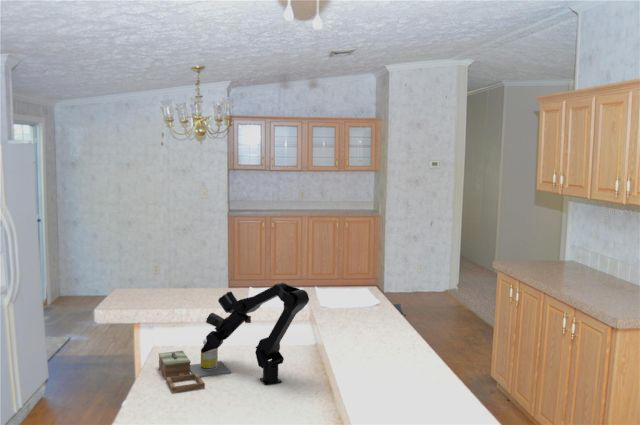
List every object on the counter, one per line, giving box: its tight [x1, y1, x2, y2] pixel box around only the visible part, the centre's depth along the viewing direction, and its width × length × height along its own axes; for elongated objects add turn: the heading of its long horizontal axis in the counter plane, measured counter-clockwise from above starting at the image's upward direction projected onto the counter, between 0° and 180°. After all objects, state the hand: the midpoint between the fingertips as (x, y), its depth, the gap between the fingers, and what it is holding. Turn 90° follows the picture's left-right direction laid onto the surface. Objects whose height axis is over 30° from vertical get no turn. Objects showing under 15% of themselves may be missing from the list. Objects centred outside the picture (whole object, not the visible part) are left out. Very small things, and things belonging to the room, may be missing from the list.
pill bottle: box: [200, 338, 219, 371], centre depth 214 cm, size 6×6×12 cm
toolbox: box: [158, 350, 206, 394], centre depth 204 cm, size 28×11×7 cm, turn 26°
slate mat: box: [190, 360, 232, 379], centre depth 214 cm, size 14×14×1 cm
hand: (205, 348), depth 214 cm, fingers open, 9 cm apart
